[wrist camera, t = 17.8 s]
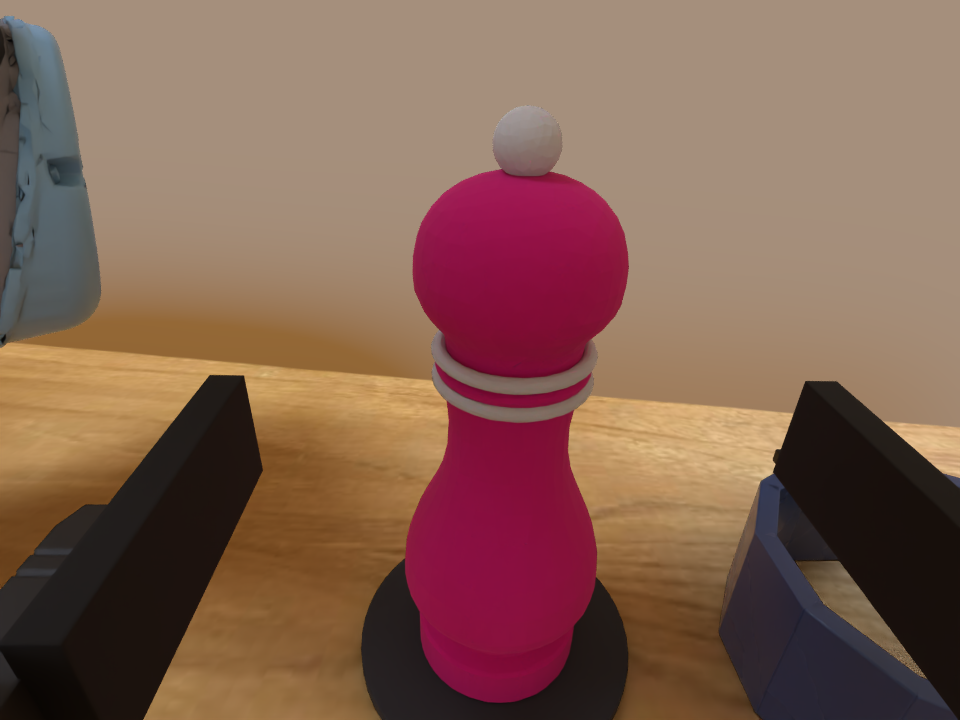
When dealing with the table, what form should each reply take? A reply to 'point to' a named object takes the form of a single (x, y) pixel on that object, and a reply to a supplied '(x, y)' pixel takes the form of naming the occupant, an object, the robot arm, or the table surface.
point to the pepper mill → (510, 412)
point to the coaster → (454, 716)
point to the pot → (806, 630)
